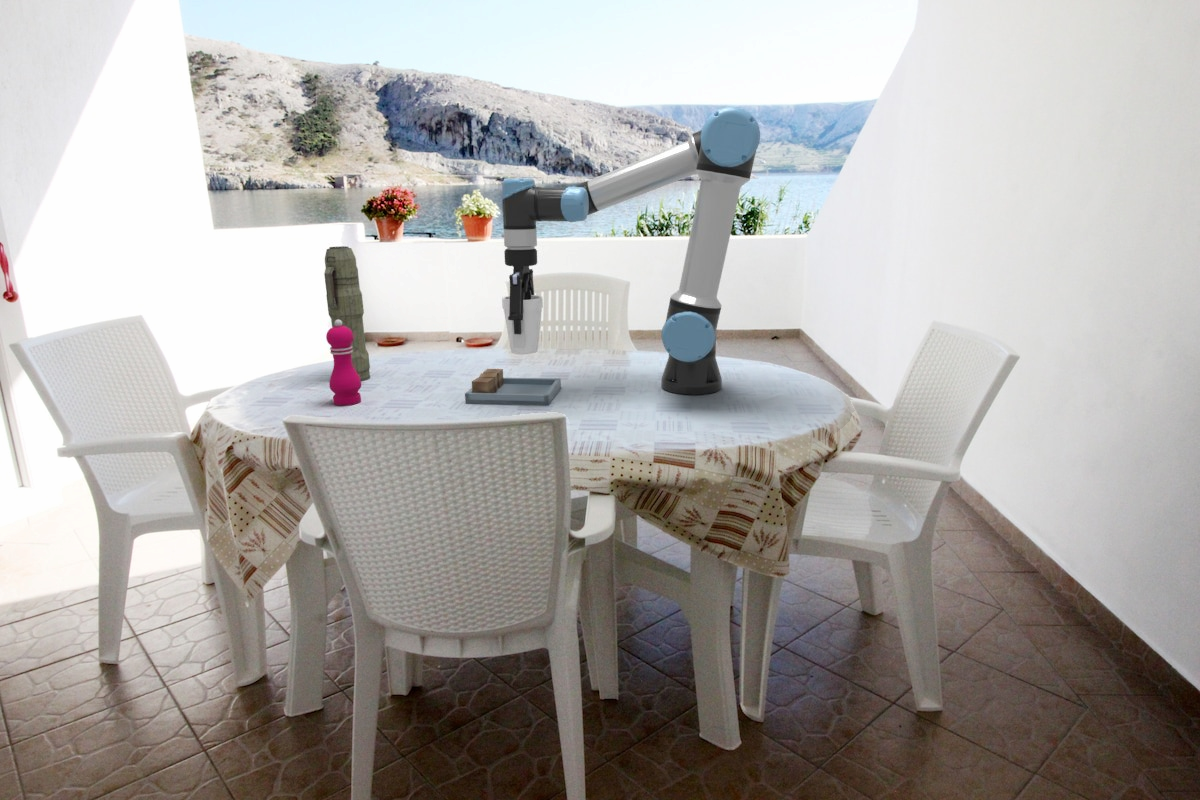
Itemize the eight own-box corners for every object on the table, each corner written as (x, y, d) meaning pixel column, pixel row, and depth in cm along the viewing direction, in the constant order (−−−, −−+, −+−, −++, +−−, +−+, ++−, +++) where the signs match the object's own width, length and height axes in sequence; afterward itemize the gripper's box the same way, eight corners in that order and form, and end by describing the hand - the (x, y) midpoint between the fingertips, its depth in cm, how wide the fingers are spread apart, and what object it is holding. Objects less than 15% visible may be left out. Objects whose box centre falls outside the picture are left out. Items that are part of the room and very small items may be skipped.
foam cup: (525, 357, 165) (522, 301, 162) (496, 352, 171) (493, 298, 167) (551, 350, 173) (550, 296, 169) (523, 345, 178) (521, 293, 174)
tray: (560, 387, 181) (560, 378, 181) (548, 405, 166) (548, 395, 166) (484, 386, 184) (483, 377, 183) (465, 403, 169) (464, 393, 168)
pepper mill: (333, 407, 167) (323, 323, 161) (329, 400, 173) (319, 318, 167) (365, 403, 170) (356, 320, 164) (360, 396, 176) (351, 316, 170)
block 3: (503, 384, 182) (502, 369, 180) (499, 388, 178) (498, 372, 177) (488, 383, 182) (487, 368, 181) (483, 388, 178) (482, 372, 177)
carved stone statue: (326, 383, 189) (310, 248, 179) (349, 372, 200) (335, 245, 190) (357, 384, 187) (342, 248, 177) (378, 373, 198) (365, 245, 188)
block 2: (498, 388, 178) (497, 373, 176) (496, 392, 174) (495, 376, 173) (481, 388, 177) (481, 373, 176) (479, 393, 174) (478, 377, 173)
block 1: (494, 394, 173) (493, 378, 172) (488, 398, 169) (487, 382, 168) (479, 393, 174) (478, 377, 172) (472, 397, 170) (471, 381, 169)
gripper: (516, 244, 176) (519, 334, 182) (491, 251, 155) (496, 352, 161) (545, 244, 175) (548, 334, 181) (525, 251, 154) (529, 353, 160)
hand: (524, 343), depth 171 cm, fingers closed on foam cup, 9 cm apart
